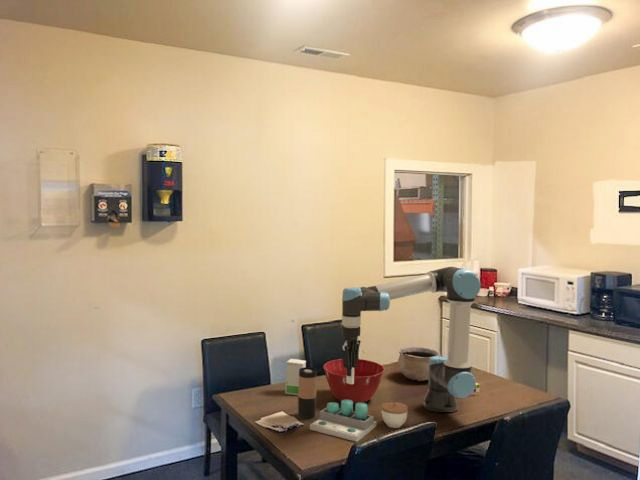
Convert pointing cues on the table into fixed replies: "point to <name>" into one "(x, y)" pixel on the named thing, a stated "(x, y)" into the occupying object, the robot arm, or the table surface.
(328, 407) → the button
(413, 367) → the ceramic bowl
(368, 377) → the mixing bowl
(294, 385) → the skincare box
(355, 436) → the button panel
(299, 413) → the travel mug
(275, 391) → the table surface
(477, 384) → the rubik's cube
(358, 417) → the button
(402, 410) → the lidded jar
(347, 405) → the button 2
